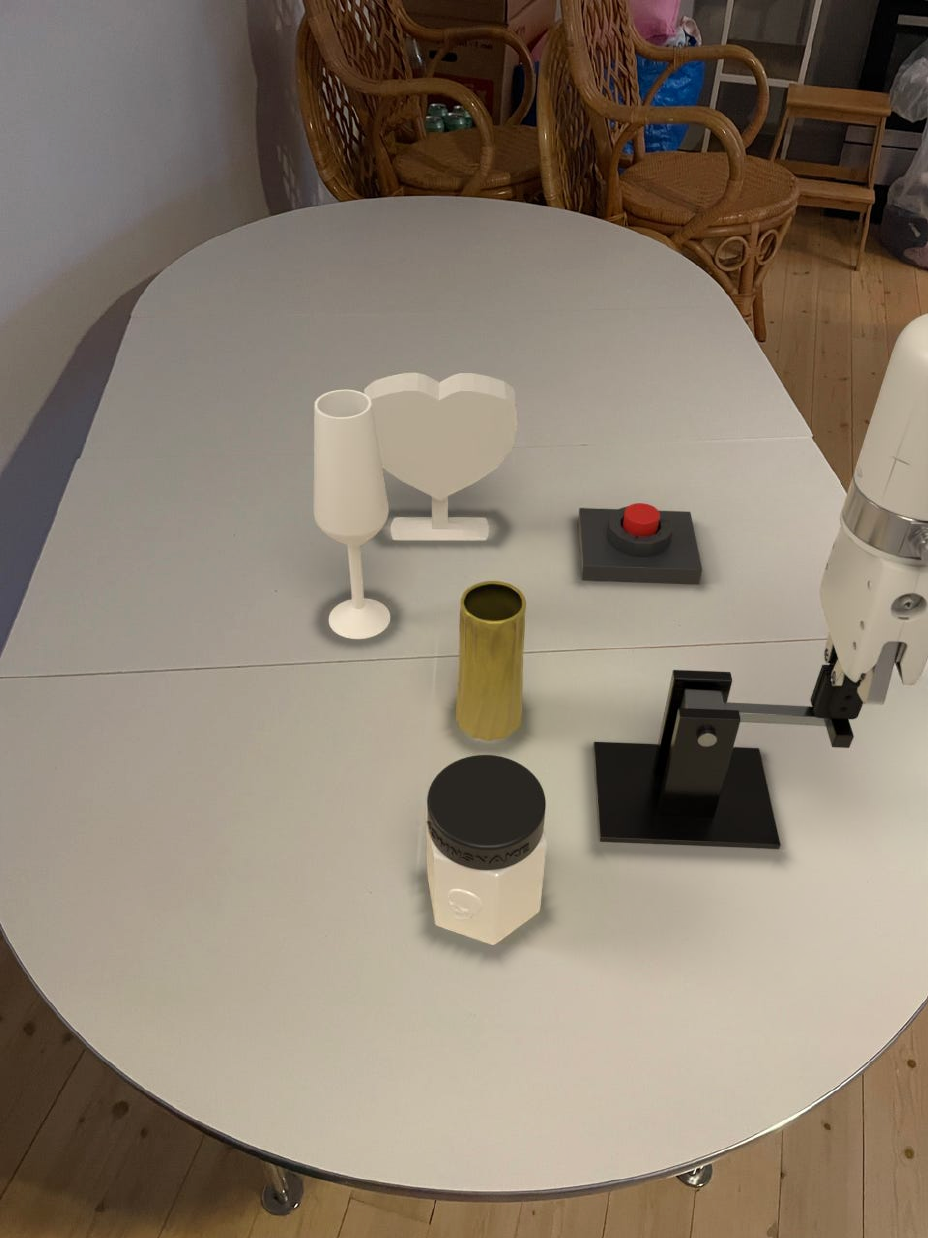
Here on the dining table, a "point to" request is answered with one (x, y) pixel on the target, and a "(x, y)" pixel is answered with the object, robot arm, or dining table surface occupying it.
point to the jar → (485, 846)
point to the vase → (491, 660)
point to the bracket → (686, 779)
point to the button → (641, 519)
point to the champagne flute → (350, 498)
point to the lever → (771, 714)
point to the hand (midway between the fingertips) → (832, 710)
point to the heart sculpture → (442, 443)
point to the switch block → (637, 549)
